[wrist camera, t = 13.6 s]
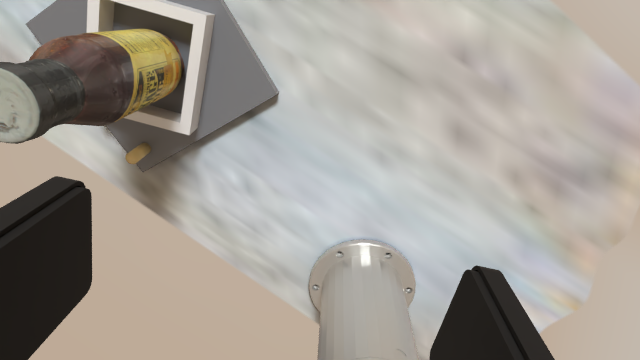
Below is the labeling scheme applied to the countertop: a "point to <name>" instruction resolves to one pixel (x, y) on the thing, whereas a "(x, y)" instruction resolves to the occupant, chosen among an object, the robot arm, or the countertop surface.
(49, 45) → the sauce bottle
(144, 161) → the locating plate
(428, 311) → the countertop surface
